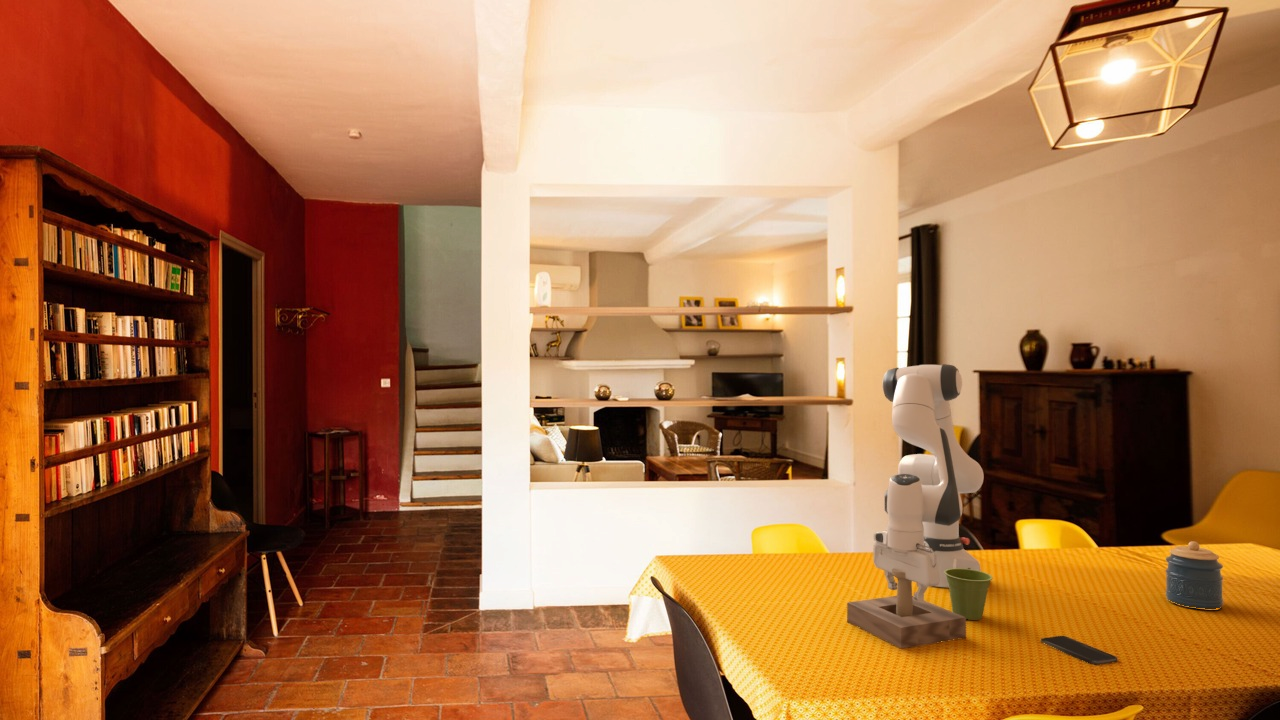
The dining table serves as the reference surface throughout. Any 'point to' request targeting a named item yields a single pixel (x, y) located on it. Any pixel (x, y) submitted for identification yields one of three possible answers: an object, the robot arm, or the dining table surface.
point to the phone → (1079, 650)
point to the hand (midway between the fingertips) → (905, 594)
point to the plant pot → (968, 591)
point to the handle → (903, 594)
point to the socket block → (906, 622)
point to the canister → (1194, 577)
